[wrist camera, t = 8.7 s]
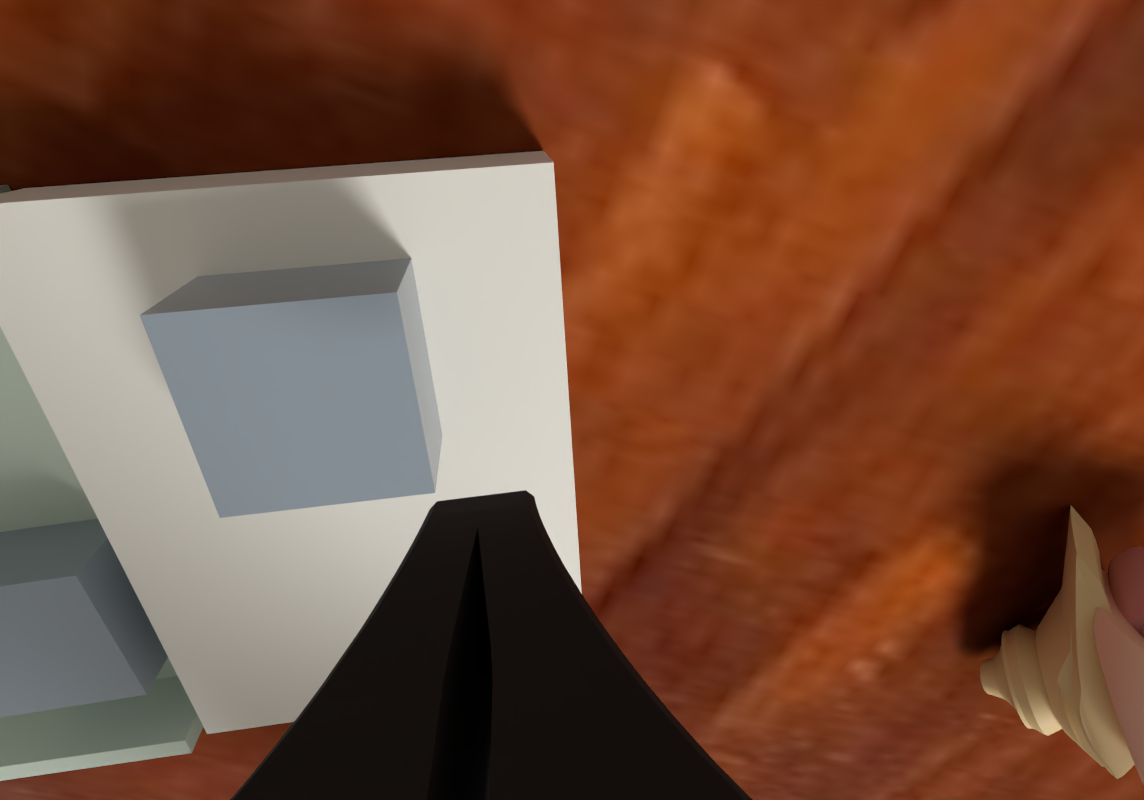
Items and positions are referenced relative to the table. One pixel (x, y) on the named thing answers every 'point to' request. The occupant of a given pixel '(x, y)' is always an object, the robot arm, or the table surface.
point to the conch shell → (1083, 657)
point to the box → (54, 496)
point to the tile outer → (302, 384)
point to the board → (159, 441)
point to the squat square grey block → (70, 621)
